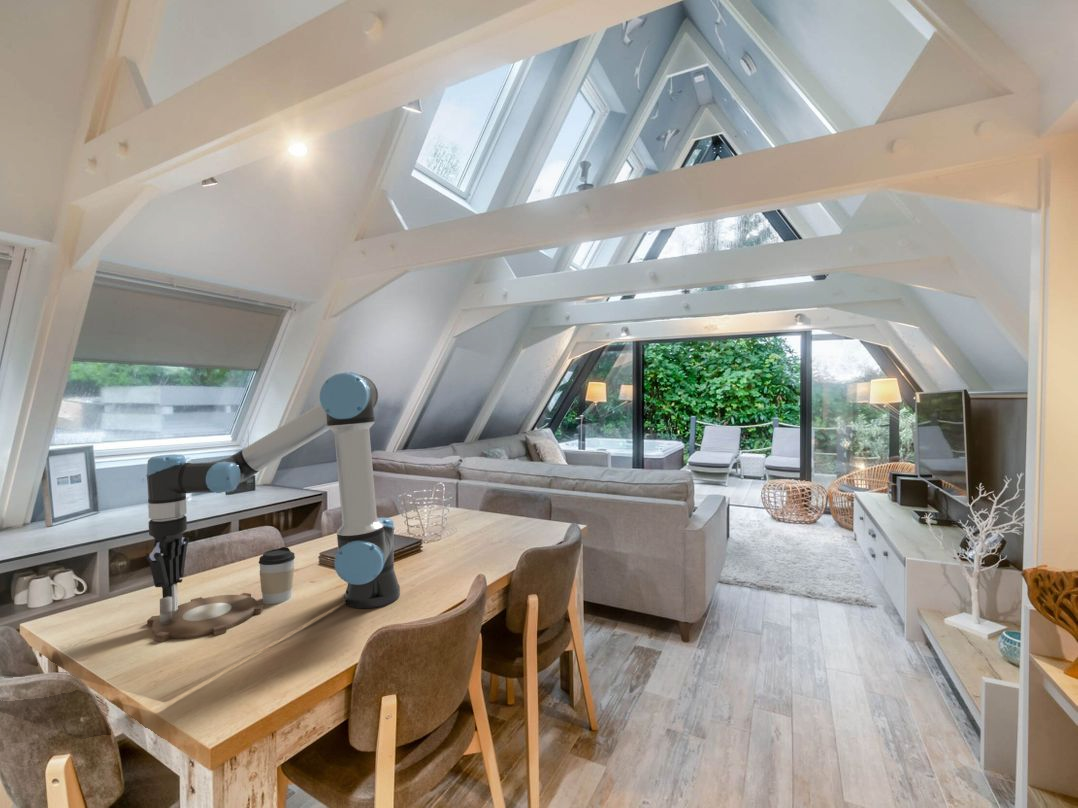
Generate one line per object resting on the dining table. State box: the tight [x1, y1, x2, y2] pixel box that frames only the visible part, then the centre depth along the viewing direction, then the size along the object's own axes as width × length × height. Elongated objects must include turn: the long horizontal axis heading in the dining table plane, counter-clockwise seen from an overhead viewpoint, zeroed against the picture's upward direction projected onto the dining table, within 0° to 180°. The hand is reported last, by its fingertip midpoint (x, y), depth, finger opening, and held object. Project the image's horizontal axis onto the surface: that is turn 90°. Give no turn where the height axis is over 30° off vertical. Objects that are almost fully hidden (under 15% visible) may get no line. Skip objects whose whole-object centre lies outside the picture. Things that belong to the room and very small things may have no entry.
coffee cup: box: [258, 546, 296, 605], centre depth 135 cm, size 9×9×15 cm
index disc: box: [146, 592, 264, 643], centre depth 123 cm, size 23×25×8 cm
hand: (170, 610), depth 120 cm, fingers closed
